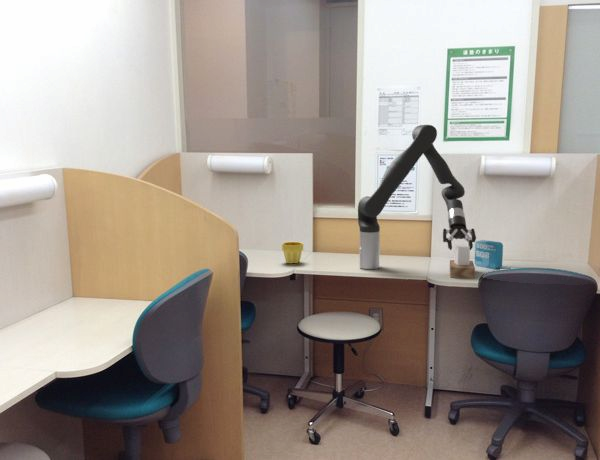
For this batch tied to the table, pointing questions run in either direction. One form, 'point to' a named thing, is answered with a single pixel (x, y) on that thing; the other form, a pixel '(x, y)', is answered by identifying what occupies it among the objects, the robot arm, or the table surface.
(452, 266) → the walnut block
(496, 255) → the data package
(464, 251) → the white block
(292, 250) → the plant pot
